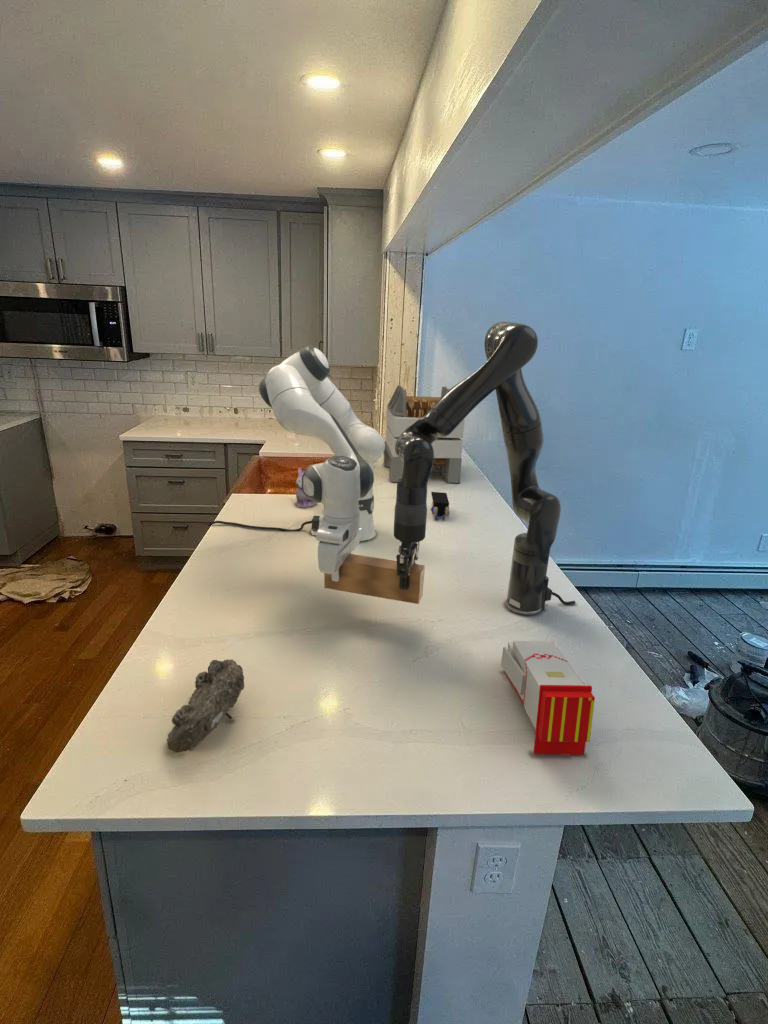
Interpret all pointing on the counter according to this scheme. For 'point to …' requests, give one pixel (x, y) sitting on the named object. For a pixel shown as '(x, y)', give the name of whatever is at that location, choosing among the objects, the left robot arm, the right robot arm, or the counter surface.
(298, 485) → the figurine
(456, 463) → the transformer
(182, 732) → the fossil
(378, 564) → the bar
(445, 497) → the figurine character
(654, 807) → the counter surface
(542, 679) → the toy
